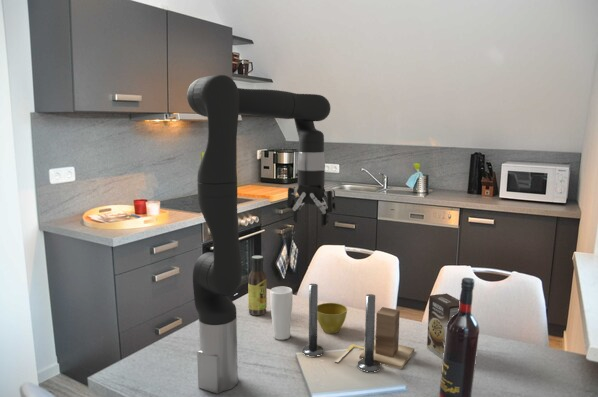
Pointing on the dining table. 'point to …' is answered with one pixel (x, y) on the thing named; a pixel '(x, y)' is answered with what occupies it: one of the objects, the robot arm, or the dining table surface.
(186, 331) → the dining table surface
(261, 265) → the sauce bottle
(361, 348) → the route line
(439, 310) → the coffee box
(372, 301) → the post right
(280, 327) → the drinking glass
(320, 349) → the post left
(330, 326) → the flower pot
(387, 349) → the walnut block
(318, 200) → the robot arm
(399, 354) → the pad
